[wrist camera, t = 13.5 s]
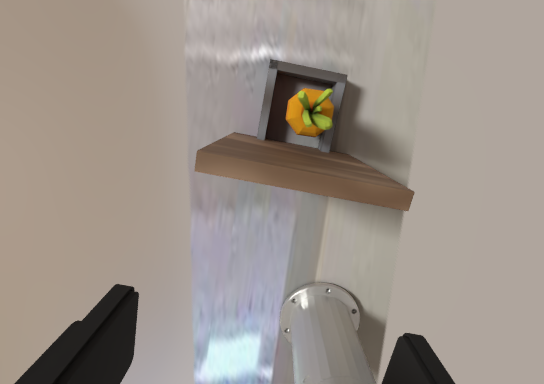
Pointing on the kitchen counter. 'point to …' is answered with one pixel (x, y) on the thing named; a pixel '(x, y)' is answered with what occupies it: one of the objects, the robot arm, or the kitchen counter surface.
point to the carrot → (310, 112)
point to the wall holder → (301, 155)
